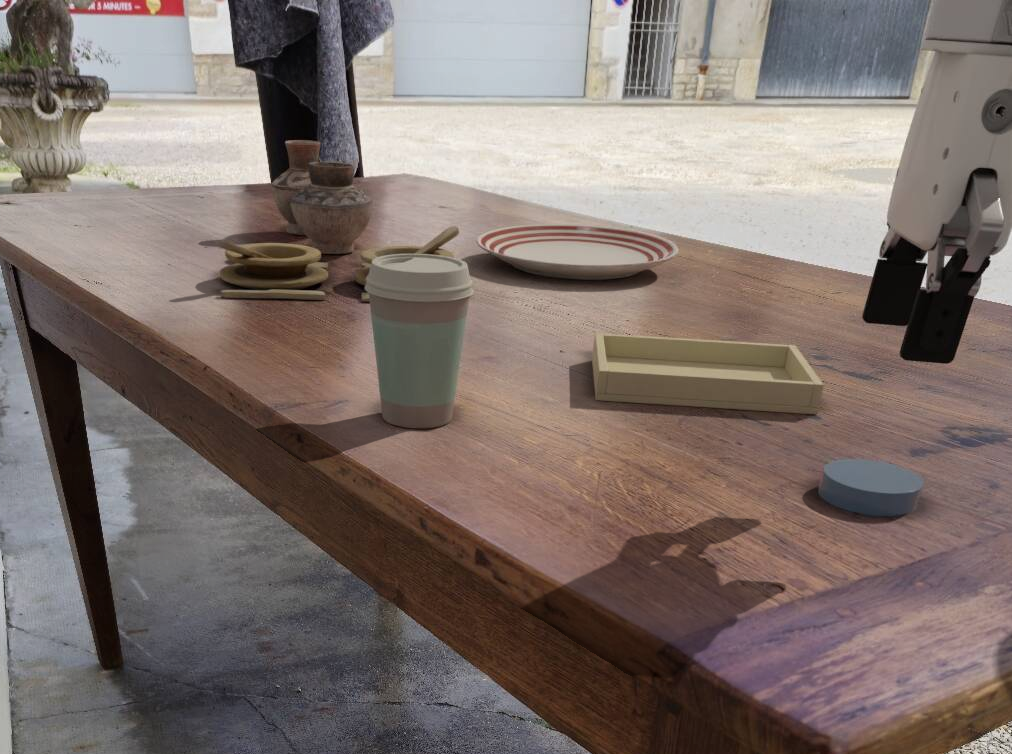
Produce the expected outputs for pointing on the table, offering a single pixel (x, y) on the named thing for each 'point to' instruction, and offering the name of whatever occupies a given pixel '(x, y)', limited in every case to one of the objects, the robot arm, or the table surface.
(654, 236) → the dinner plate
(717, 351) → the serving tray
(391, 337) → the coffee cup
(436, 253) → the tableware set
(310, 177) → the pottery
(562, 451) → the table surface
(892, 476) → the blue-grey disc
